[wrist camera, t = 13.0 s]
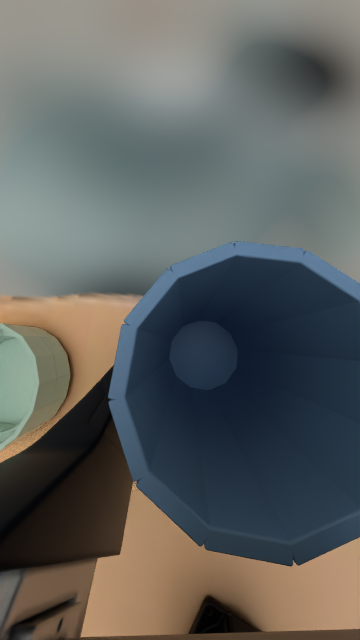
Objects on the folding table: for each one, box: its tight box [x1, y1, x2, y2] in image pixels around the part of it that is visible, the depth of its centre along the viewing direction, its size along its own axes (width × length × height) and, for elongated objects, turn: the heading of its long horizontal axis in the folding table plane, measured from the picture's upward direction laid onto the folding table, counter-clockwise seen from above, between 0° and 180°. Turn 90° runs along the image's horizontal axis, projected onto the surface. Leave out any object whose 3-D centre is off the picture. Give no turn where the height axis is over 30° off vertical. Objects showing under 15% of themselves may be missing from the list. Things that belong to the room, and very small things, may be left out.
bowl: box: [0, 323, 71, 452], centre depth 16 cm, size 11×11×4 cm
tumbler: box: [108, 241, 360, 566], centre depth 9 cm, size 7×7×12 cm
